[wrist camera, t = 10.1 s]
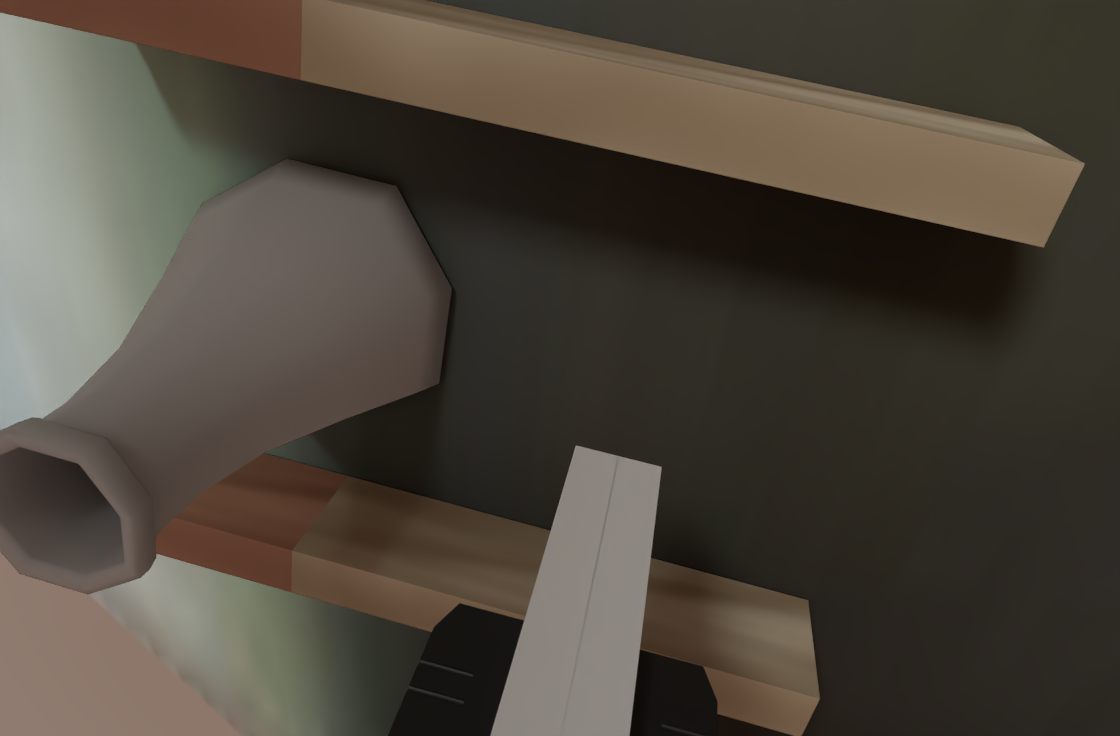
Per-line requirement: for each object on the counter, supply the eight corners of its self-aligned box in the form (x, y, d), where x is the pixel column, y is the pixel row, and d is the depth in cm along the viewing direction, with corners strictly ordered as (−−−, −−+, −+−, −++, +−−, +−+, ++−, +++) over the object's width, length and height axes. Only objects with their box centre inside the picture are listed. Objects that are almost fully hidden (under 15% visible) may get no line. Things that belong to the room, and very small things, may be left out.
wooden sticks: (108, -68, 18) (-18, -74, 15) (1019, 126, 16) (1084, 164, 13) (153, 461, 25) (73, 530, 22) (791, 637, 24) (800, 737, 20)
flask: (479, 406, 22) (313, 696, 13) (249, 411, 24) (-34, 672, 15) (427, 142, 19) (166, 293, 10) (167, 168, 21) (-250, 318, 12)
